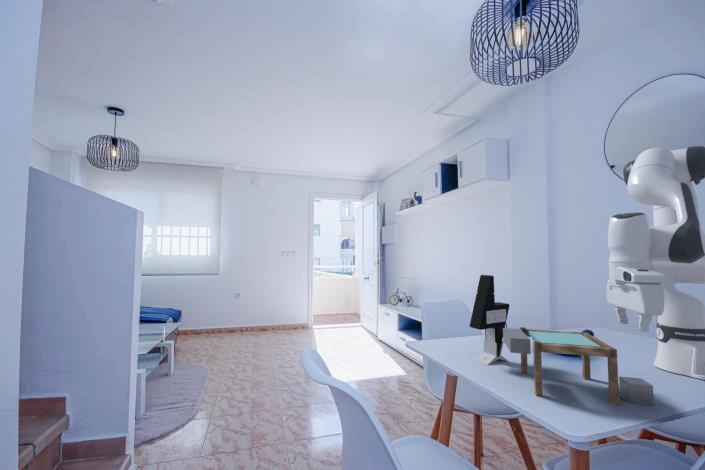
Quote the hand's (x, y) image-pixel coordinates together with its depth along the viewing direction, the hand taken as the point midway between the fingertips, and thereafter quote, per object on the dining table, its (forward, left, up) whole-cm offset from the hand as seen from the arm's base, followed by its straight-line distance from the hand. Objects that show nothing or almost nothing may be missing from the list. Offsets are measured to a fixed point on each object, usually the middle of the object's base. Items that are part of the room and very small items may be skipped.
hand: (632, 327), depth 85 cm
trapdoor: (+19, -5, -8) cm, 21 cm away
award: (+32, -23, -19) cm, 44 cm away
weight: (0, 0, -19) cm, 19 cm away
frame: (+15, -5, -19) cm, 24 cm away
